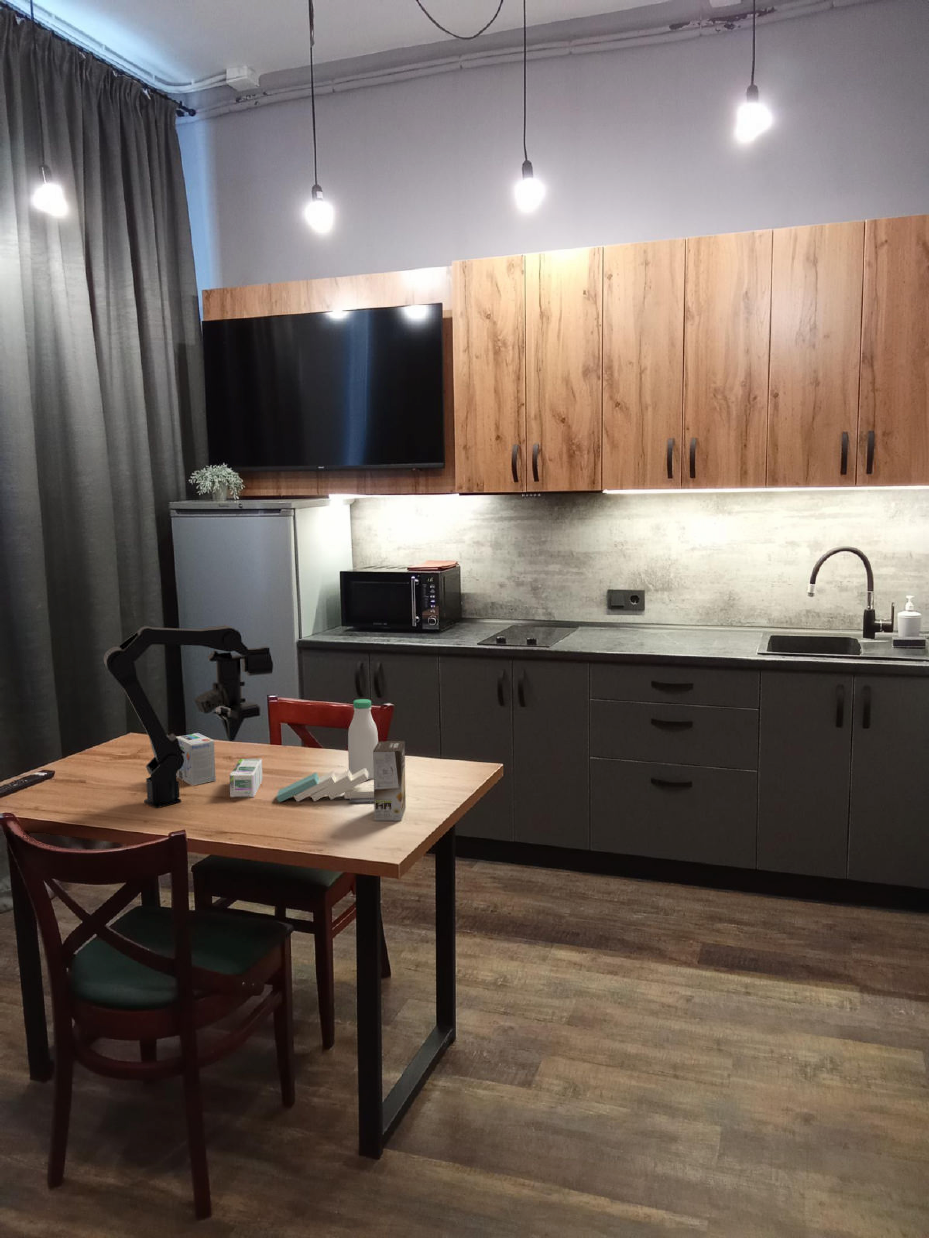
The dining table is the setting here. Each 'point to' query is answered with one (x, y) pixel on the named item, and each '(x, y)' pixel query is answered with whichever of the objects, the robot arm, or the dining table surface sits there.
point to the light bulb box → (197, 759)
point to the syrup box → (246, 778)
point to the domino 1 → (297, 787)
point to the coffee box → (389, 781)
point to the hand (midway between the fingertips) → (231, 740)
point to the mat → (361, 800)
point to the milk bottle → (362, 738)
